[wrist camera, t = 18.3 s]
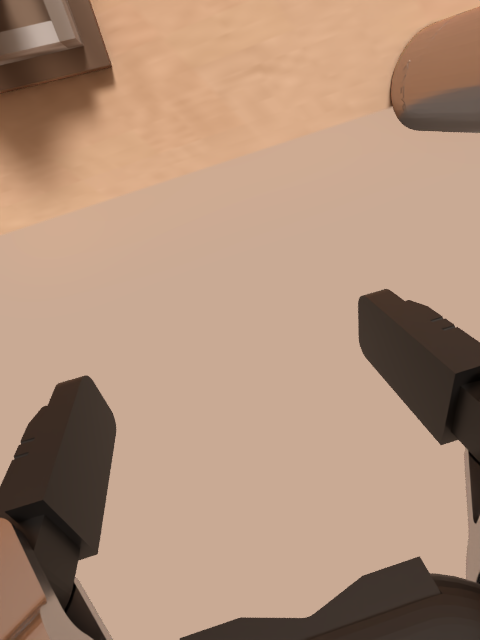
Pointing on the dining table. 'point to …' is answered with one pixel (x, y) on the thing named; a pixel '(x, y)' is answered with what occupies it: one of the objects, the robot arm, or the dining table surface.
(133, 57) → the dining table surface
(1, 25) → the frame
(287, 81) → the dining table surface
